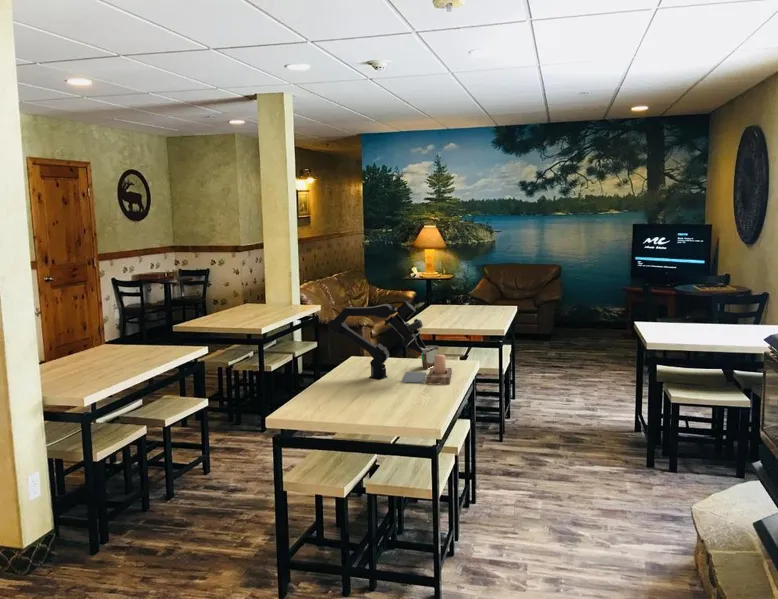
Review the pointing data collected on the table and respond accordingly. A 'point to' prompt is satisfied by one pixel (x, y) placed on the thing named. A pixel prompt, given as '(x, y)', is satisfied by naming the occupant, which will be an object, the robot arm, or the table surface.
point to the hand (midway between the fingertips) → (423, 350)
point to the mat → (414, 377)
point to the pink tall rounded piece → (439, 364)
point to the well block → (439, 376)
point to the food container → (429, 356)
